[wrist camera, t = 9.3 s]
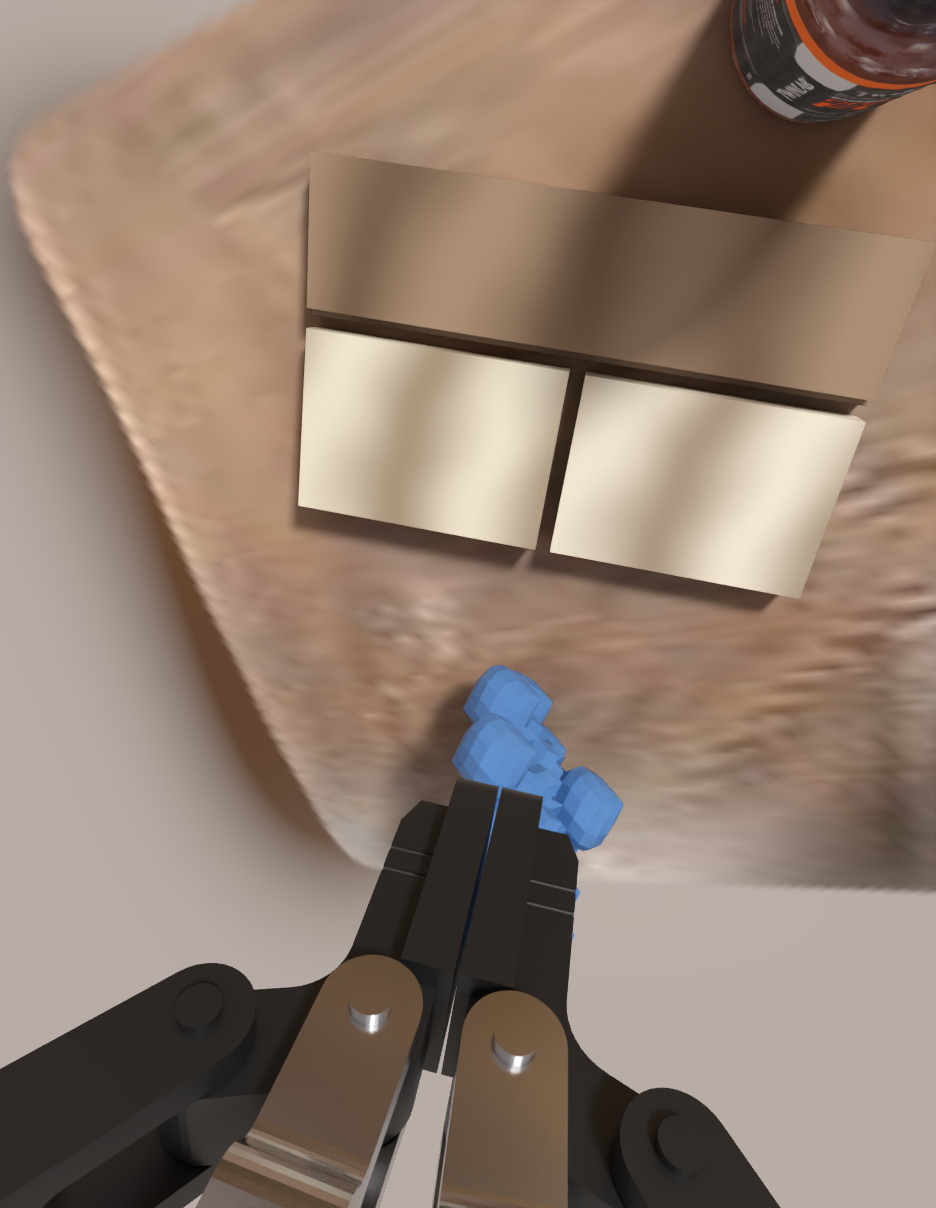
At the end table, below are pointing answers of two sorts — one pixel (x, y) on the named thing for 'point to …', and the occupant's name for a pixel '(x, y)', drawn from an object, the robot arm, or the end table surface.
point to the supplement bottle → (832, 54)
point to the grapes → (531, 758)
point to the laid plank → (610, 277)
